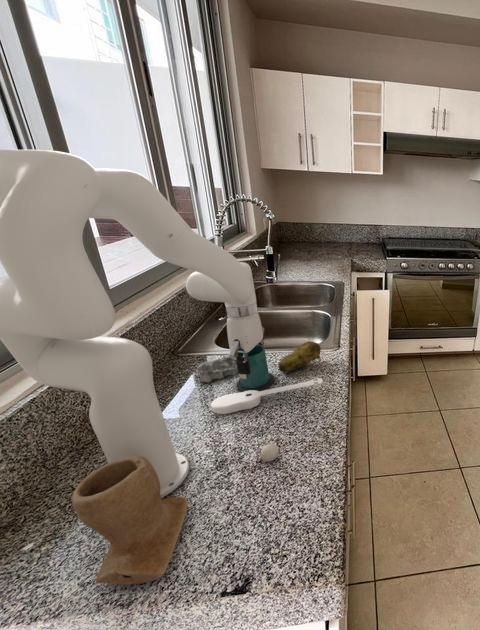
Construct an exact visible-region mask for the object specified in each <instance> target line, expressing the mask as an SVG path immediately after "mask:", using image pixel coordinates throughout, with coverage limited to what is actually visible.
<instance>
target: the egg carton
mask: <svg viewBox="0 0 480 630" xmlns="http://www.w3.org/2000/svg"><path fill="white" fill-rule="evenodd" d="M196 369H197V375H198V376H199V378H200V382H201V383H210V382H212V381H213V380H216V379H219V380H221V379H224V378H225V377H226V376H229V375H230V376H236V375H237V374H238V369H237V364H236V363H235V362H234V361H233V360H232V358H231V357H230V356H229V355H228V356H227V357H223V358H218V359H214V360H212V361H204V362H203V361H202V362H201V363H200V364H198V366H197V367H196Z"/></svg>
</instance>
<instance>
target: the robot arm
mask: <svg viewBox="0 0 480 630" xmlns="http://www.w3.org/2000/svg"><path fill="white" fill-rule="evenodd" d="M88 219H97V220H114V221H117V222H118V223H119V224H120V225H121V226H122V227H123V228H124V229H126V230H127V231H128V232H129V233H130V234H131V235H132V236H133V237H134V238H135V239H137V241H138V242H139V243H141V244H142V245H143V246H144V247H145V248H146V249H147V250H148V251H149V252H150V253H151V254H152V255H154V256H155V257H156V258H158V259H159V260H162V261H165V262H166V263H169V264H172V265H174V266H177V267H180V268H184V269H187V270H190V271H194V272H192V273H191V274H190V275H189V276H188V277H187V279H186V281H185V290H186V292H187V293H188V295H189V296H190V297H192V298H193V299H194V300H198V301H202V302H210V303H211V302H212V303H224V306H225V312H226V317H227V319H226V333H227V341H228V346H229V351H230V352H229V354H228V357H229V356H230V357H231V358H232V360H233V361H234V362H235V363H236V364H237V369H238V372H237V374H238V375H239V374H246V375H249V374H250V373H251V371H250V366H249V361H247V356H248V352H249V351H251V350H252V349H253V348H254V347H255V346H256V345H262V346H265V341H264V338H265V327H264V326H262V325H263V324H262V321H261V317H260V314H259V308H258V301H257V295H256V290H255V289H256V288H255V284H254V283H255V282H254V278H253V272H252V268H251V266H250V264H249V263H247V262H244V261H239V260H238V258H236V257H235V256H234V255H232V253H230V252H229V251H227V250H226V249H224V248H222V247H221V246H219V245H217V244H216V243H214V242H213V241H211V240H209V239H208V238H206V237H205V236H203V235H200V233H199V234H198V233H197V232H195V230H193V229H192V228H191V226H189V224H188V223H187V221H185V220H184V218H183V217H182V215H180V214H179V212H178V211H176V209H175V208H174V207H173V205H172V204H171V203H170V202H169V200H167V198H166V197H165V196H164V194H162V193H161V192H160V190H159V189H158V188H157V187H156V185H155V184H154V183H152V181H150V179H149V178H147V177H146V176H144V175H143V174H141V173H140V172H137V171H133V170H129V169H119V168H95V167H94V166H93V165H92V164H91V163H90V162H89V161H87V160H86V159H84V158H83V157H81V156H79V155H74V154H72V153H69V152H64V151H59V150H49V149H0V263H1V266H2V268H3V269H4V270H5V273H6V274H7V277H8V278H6V279H3V280H1V281H0V341H1V342H2V344H3V345H4V346H5V348H6V349H7V351H9V353H10V355H12V357H13V358H14V359H15V361H16V362H17V363H18V364H19V366H20V367H21V368H22V369H23V371H24V372H25V373H26V374H27V375H28V376H29V377H30V378H31V379H33V380H34V381H35V382H37V383H39V384H41V385H44V386H46V387H51V388H55V389H63V390H71V391H75V392H82V393H86V394H87V395H88V396H89V397H90V406H89V410H88V411H89V412H88V417H89V422H90V424H91V425H90V426H91V428H92V430H93V432H94V434H95V436H96V438H97V440H98V444H99V445H100V447H101V450H102V452H103V455H104V456H105V459H106V461H107V464H108V463H110V462H112V461H115V460H118V459H120V458H124V457H128V456H141V457H144V458H146V459H147V460H148V461H149V462H150V464H151V465H152V466H153V468H154V470H155V471H156V473H157V476H158V479H159V481H160V495H161V499H164V498H165V497H166V496H168V495H169V494H171V493H172V492H173V491H175V490H176V489H177V488H178V487H179V486H180V485H182V483H183V482H184V480H185V479H186V478H187V476H188V475H189V471H190V463H189V461H188V458H187V457H186V456H185V455H183V454H182V453H177V452H175V447H174V445H173V441H172V439H171V436H170V433H169V430H168V427H167V423H166V420H165V418H164V415H163V414H164V413H163V411H162V408H161V406H160V402H159V399H158V397H157V393H156V389H155V384H154V376H153V375H154V370H153V359H152V356H151V354H150V352H149V351H148V349H147V348H146V347H145V346H144V345H142V344H140V343H139V342H137V341H134V340H131V339H128V338H123V337H117V336H107V335H105V334H106V333H108V332H110V330H111V329H112V328H113V326H114V324H115V321H116V311H115V308H114V305H113V303H112V301H111V298H110V297H109V294H108V293H107V290H106V289H105V287H104V285H103V284H102V282H101V279H100V278H99V276H98V274H97V272H96V270H95V269H94V266H93V265H92V263H91V261H90V258H89V256H88V254H87V252H86V249H85V245H84V241H83V240H84V239H83V236H84V229H85V227H86V223H87V222H88ZM240 349H243V350H244V351H240ZM240 353H244V354H243V358H242V357H240V356H239V355H240Z"/></svg>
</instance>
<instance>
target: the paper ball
mask: <svg viewBox="0 0 480 630" xmlns="http://www.w3.org/2000/svg"><path fill="white" fill-rule="evenodd" d="M279 451H280V450H279V447H278V446H277V444H275V443H268V444H264V446H263V447H262V448H261V450H260V458H261V459H262V460H263V461H264V462H268V463H269V462H272V461H274V460H276V459H277V458H278V455H279Z"/></svg>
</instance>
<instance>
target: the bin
mask: <svg viewBox="0 0 480 630" xmlns="http://www.w3.org/2000/svg"><path fill="white" fill-rule="evenodd" d="M240 351H244V350H243V349H240ZM243 354H244V353H240V355H239V356H240V357H242V358H243ZM247 361H249V366H250V371H251V373H250V374H249V375H246V374H239V373H238V377H239V380H240V382H241V386H243V387H245V388H256V387H260V386H262V385H264V384H266V383H267V382H268V381H269V380H270V377H269V373H270V371H269V366H268V360H267V355H266V349H265V345H256V346H255V347H254V348H253V349H252V350H251V351H249V352H248V356H247Z"/></svg>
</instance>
